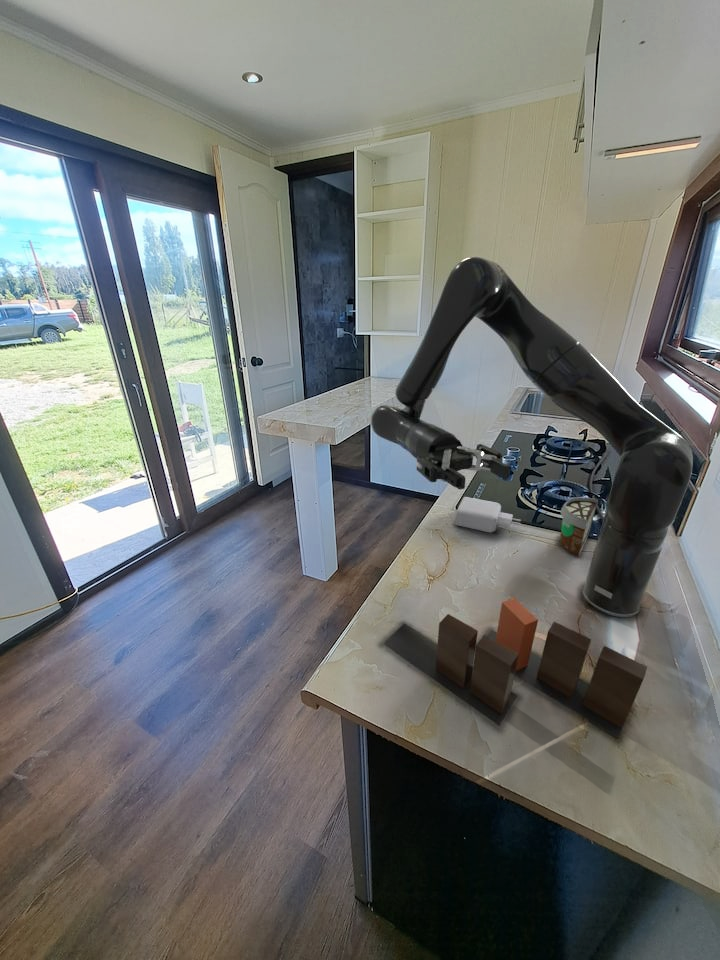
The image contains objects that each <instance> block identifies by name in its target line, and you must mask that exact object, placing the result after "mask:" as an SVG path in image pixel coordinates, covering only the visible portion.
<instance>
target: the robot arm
mask: <svg viewBox="0 0 720 960" xmlns="http://www.w3.org/2000/svg"><path fill="white" fill-rule="evenodd" d="M474 318H477V319H479V320H480V321H482V322H483V323H484V324H485V325H487V326H488V327H489V328H490V329H491V330H492V331H494V332H495V333H496V334H497V335H498V336H499V337H500V339H502V340H503V342H504V343H505V344H506V346H507V347H508V349H509V351H510V352H511V354H512V356H513V358H514V360H515V361H516V363H517V364H518V366H519V368H520V370H521V371H522V373H523V374H524V376H526V378H527V379H528V380H529V381H530V382H531V384H533V385H534V387H536V388H537V390H539V391H540V393H542V394H543V395H544V396H545V397H546V398H547V399H548V400H549V401H551V403H553V404H554V405H556V406H557V407H558V408H560V409H561V410H562V411H565V412H566V413H568V414H569V415H571V416H573V417H574V418H577V419H579V420H580V421H582V422H584V423H586V424H587V425H588V426H590V427H592V428H593V429H594V430H596V431H597V432H598V433H599V434H600V435H601V436H602V437H603V438H604V439H605V440H606V442H608V444H609V445H610V446H611V447H612V448H613V449H614V451H615V452H616V453H617V454H618V456H619V459H618V463H617V466H616V469H615V472H614V475H613V480H612V484H611V487H610V491H609V495H608V497H607V501H606V504H605V505H606V508H605V513H604V515H603V513H602V511H601V509H600V507H599V505H598V504H597V507H596V510H595V511H596V512H597V514H598V516H599V518H600V519H601V522H602V523H601V526H600V530H599V534H598V537H597V541H596V545H595V548H594V551H593V555H592V558H591V562H590V565H589V568H588V572H587V576H586V578H585V582H584V585H583V586H582V591H581V592H582V593H581V594H582V596H583V598H584V600H585V601H586V603H588V604H589V605H590V606H591V607H592V608H594V609H595V610H598V611H599V612H601V613H604V614H606V615H609V616H611V617H616V618H631V617H635V616H636V615H637V614H638V613H639V612H640V610H641V604H642V602H643V599H644V598H645V594H646V593H647V592H646V591H647V589H648V586H649V583H650V581H651V578H652V575H653V573H654V571H655V568H656V565H657V562H658V560H659V557H660V555H661V553H662V549H663V546H664V544H665V541H666V538H667V536H668V533H669V530H670V528H671V526H672V525H673V523H674V522H675V520H676V517H677V514H678V512H679V510H680V507H681V505H682V502H683V499H684V498H685V497H684V496H685V494H686V491H687V489H688V487H689V484H690V481H691V477H692V474H693V464H694V463H693V462H694V455H693V450H692V448H691V446H690V444H689V443H688V441H687V440H686V439H685V438H684V437H683V436H681V435H680V434H679V433H678V432H677V431H675V430H673V429H672V428H671V427H669V426H668V425H666V424H665V423H664V422H663V421H661V420H660V419H659V418H657V417H656V416H655V415H654V414H652V413H651V412H650V411H648V410H647V409H646V408H644V407H643V406H642V405H641V404H639V403H638V402H637V401H636V400H635V399H634V398H633V397H632V396H631V395H630V394H629V393H628V391H627V390H626V388H624V387H623V386H622V384H621V383H620V382H619V381H618V379H616V378H615V377H614V376H613V375H612V374H611V373H610V371H609V370H607V369H606V367H605V366H604V365H602V363H600V361H599V360H598V359H597V358H596V357H595V356H594V355H593V354H592V353H591V352H590V351H589V350H588V349H586V347H585V346H583V344H581V342H579V341H578V340H577V339H576V338H574V337H573V336H572V335H571V334H570V333H568V332H567V330H565V329H564V328H563V327H562V326H560V325H559V323H557V322H555V321H554V320H552V319H551V318H550V317H549V316H547V315H546V314H545V313H544V312H542V311H540V310H539V309H538V308H537V307H536V306H535V305H533V303H532V302H531V301H530V300H529V299H528V298H527V297H526V295H525V294H524V293H523V292H522V291H521V290H520V288H519V287H518V286H517V285H516V284H515V282H514V281H513V280H512V278H511V277H510V275H508V273H507V271H506V270H505V269H504V268H503V267H502V266H501V265H499V264H498V263H497V262H495V261H492V260H489V259H486V258H484V257H479V256H470V257H467V258H464V259H463V260H460V261H459V262H458V263H457V264H456V265H455V266H454V268H453V269H451V272H450V273H449V275H448V277H447V279H446V282H445V284H444V286H443V289H442V292H441V294H440V297H439V300H438V302H437V305H436V307H435V310H434V312H433V315H432V317H431V320H430V321H429V324H428V327H427V329H426V332H425V334H424V336H423V338H422V340H421V342H420V345H419V347H418V349H417V351H416V353H414V354H415V355H414V357H413V358H412V360H411V362H410V363H409V365H408V367H407V369H406V370H405V372H404V374H403V376H402V377H401V379H400V381H399V383H398V384H397V386H396V388H395V391H394V394H395V398H396V399H397V401H398V402H399V403H401V404H402V405H404V408H400V407H396V406H393V405H390V404H389V405H388V404H383V405H380V406H378V407H376V408H375V410H373V412H372V414H371V417H370V426H371V429H372V432H374V434H376V435H377V436H378V437H380V438H381V439H384V440H387V441H388V442H391V443H394V444H396V445H398V446H400V447H401V448H402V449H404V450H405V451H406V452H408V453H409V454H410V455H411V456H412V457H413V458H415V460H416V471H417V472H418V473H420V475H422V477H424V478H425V479H426V480H427V481H429V482H430V483H436V482H437V481H438V480H440V481H441V482H443V483H445V482H446V483H448V484H449V485H451V486H452V487H453V488H456V489H458V490H460V491H461V490H464V489H465V488H466V476H464V475H463V474H462V473H460V472H459V471H463V470H469V471H474V472H480V471H481V470H483V471H489V472H490V473H492V474H494V475H495V476H497V477H499V478H500V479H503V480H507V479H509V478H510V473H511V466H510V465H508V464H506V463H504V462H502V461H503V455H504V453H502V452H500V451H498V450H496V449H494V448H491V447H490V446H487V445H484V444H482V443H478V444H476V448H473V449H472V448H470V447H467V446H463V444H462V442H461V440H460V439H459V437H458V436H457V435H455V434H454V433H452V432H449V431H448V430H446V429H444V428H442V427H439V426H438V425H436V424H433V423H430V422H427V421H425V420H423V419H421V416H422V413H423V410H424V407H425V405H426V402H427V400H428V399H429V398H430V396H431V394H432V393H433V392H434V391H435V388H436V387H437V385H438V384H439V382H440V380H441V378H442V376H443V374H444V371H445V370H446V366H447V363H448V361H449V357H450V355H451V353H452V350H453V348H454V346H455V344H456V342H457V340H458V339H459V338H460V335H461V334H462V332H464V330H465V329H466V327H467V326H468V325H469V324H470V323H471V322H472V320H473V319H474ZM610 451H611V449H610V448H607V449H606V451H605V453H604V454H603V455H602V457H601V458H600V459H599V461H598V462H597V464H596V465H595V467H594V468H593V470H592V472H591V473H590V477H589V482H588V487H589V493H590V492H592V493H593V494H594V491H593V480H594V476H595V474H596V472H597V470H598V468H599V467H600V465H601V464H602V462H603V461H604V460H605V458H606V457H607V455H608V453H609V452H610ZM474 458H476V463H475V464H473V463H474ZM485 463H486V464H485ZM592 498H594V499H596V498H595V494H594V495H593V496H592Z"/></svg>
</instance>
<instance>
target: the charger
mask: <svg viewBox="0 0 720 960" xmlns="http://www.w3.org/2000/svg"><path fill="white" fill-rule="evenodd" d="M521 522H522V520H521V519H520V518H519V519H518V518H514V515H513V514H511V513H506V512H503V511H502V505H501V503H498V502H495V501H491V500H490V501H489V500H485V499H479V498H474V497H468V496H463V498H462V500H461V501H460V503H459V505H458V508H457V510H456V513H455V524H454V525H455V526H458V527H463V528H467V529H472V530H478V531H482V532H486V533H493V532H495V531H496V530H497V526H502V527H506V528H511V525H512V524H513V525H519V526H520V525H521Z"/></svg>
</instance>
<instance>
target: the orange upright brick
mask: <svg viewBox="0 0 720 960" xmlns="http://www.w3.org/2000/svg"><path fill="white" fill-rule="evenodd" d="M538 622H539V619H538V618H537V617H536V616H535V615H534V614H533V613H532V612H531V611H530V610H528V608H527V607H525V606H524V605H523V604H522V603H521V602H520V601H519V600H518V599H516V597H513V598H510V599H508V600H505V601H502V602H501V606H500V613H499V619H498V623H497V629H496V630H497V631H496V633H497V636H496V641H497V642H498V643H500V644H502V645H504V646H505V647H507V648H509V649H511V650H512V651H514V652H516V653H518V654H519V655H518V660H517V665H516V670H519V669H521V668H523V667H526V666H528V662H529V658H530V653H531V652H532V648H533V644H534V639H535V636H536V631H537V627H538ZM516 670H515V671H516Z"/></svg>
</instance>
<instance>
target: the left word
mask: <svg viewBox="0 0 720 960" xmlns="http://www.w3.org/2000/svg"><path fill="white" fill-rule="evenodd" d="M478 635H479V630H478V629H476V628H474V627H472V626H471V625H469V624H467V623H465V622H463V621H462V620H460V619H458V618H457V617H455V616H453V615H451V614H449V613H447V614H446V615H445V616H444V617H443V619H441V621H439V624H438V635H437V643H436V642H434V641H433V640H431V639H430V638H428V637H427V636H425V635H424V634H422V633H421V632H419V631H417V630H416V629H414V628H413V627H411V626H409V625H408V624H406V623H405V622H404V623H403V624H402V625H401V626H400V627H398V628H397V629H396V631H394V633H392V635H391V636H389V637H388V638H387V639H386V640H385V641H384V642H383V645H384V646H386V647H387V648H388V649H390V650H392V651H393V652H394V653H395V654H397V655H399V656H400V657H401V658H403V659H404V660H406V661H407V662H408V663H410V664H411V665H413V666H414V667H415V668H417V669H418V670H420V671H421V672H423V673H424V674H425V675H426V676H428V677H429V678H431V679H433V681H435V682H436V683H438V684H439V685H441V686H442V687H444V688H445V689H446V690H448V691H449V692H450V693H452V694H453V695H455V696H456V697H457V698H459V699H460V700H461V701H463V702H465V703H466V704H467V705H469V706H470V707H471V708H473V709H474V710H476V711H478V712H479V713H480V714H481V715H483V716H484V717H485V718H487V719H489V720H490V721H491V722H493V723H494V724H495V725H497V726H499V727H500V726H501V724H502V722H503V720H504V719H505V717H506V715H507V714H508V712H509V711H510V709H511V707H512V705H513V704H514V702H515V700H516V699H517V697H518V694H516V693H514V692H512V688H513V684H514V679H515V675H514V674H515V670H516V665H517V660H518V655H519V654H518V653H516V652H514V651H512V650H511V649H509V648H507V647H505V646H504V645H502V644H500V643H498V642H497V641H495V640H493V639H491V638H490V637H488V636H487V635H486V634H483V636H482V637H481V639H480V640H478ZM477 640H478V642H477Z"/></svg>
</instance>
